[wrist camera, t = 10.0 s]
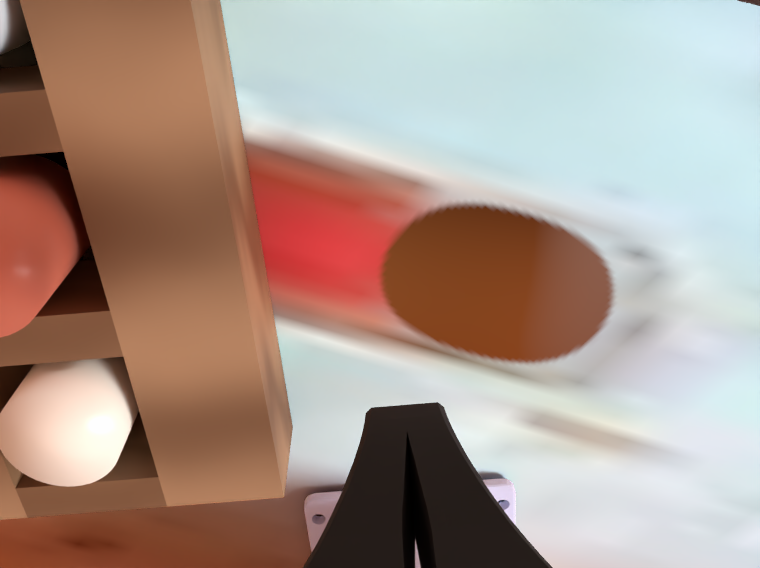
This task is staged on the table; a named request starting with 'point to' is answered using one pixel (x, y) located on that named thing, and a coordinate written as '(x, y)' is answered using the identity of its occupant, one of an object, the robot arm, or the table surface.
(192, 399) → the light brown rack
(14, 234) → the salmon pink egg
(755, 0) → the box
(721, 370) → the table surface
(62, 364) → the cream plug
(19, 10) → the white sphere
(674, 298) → the table surface
